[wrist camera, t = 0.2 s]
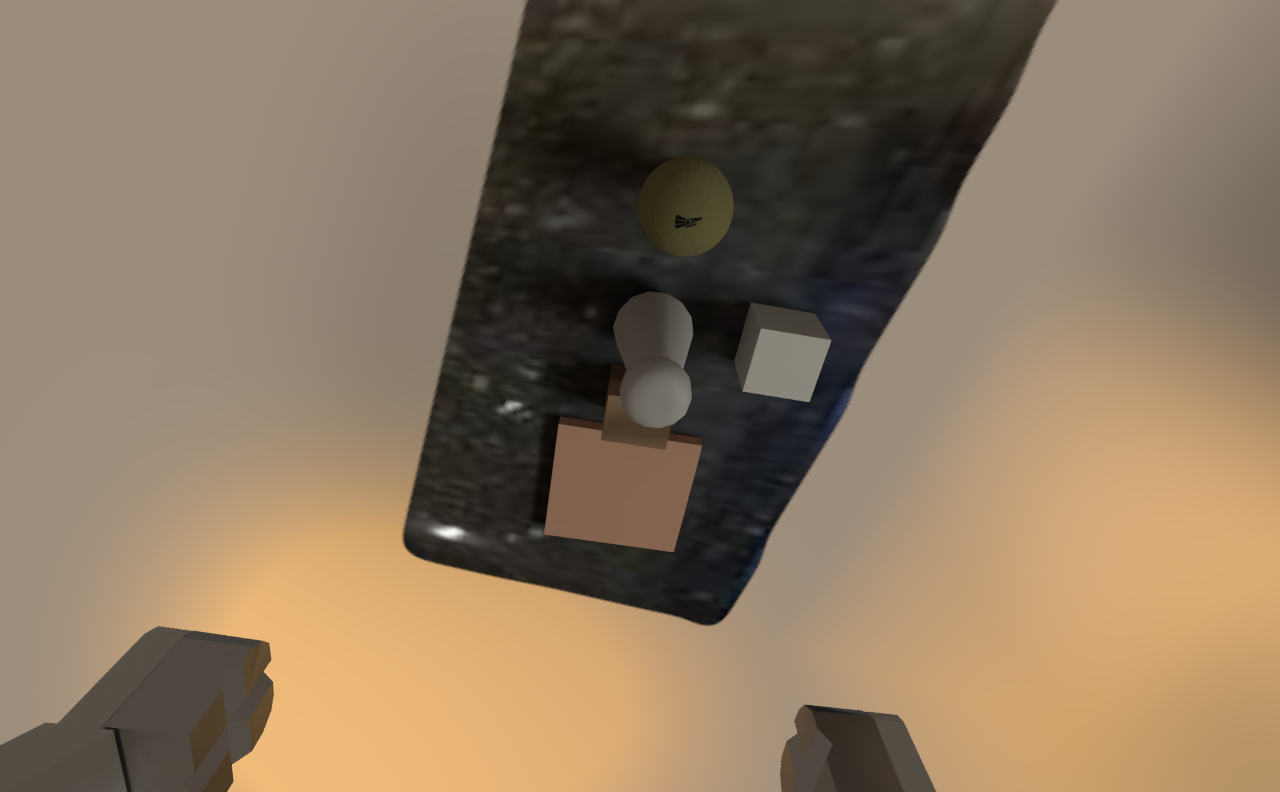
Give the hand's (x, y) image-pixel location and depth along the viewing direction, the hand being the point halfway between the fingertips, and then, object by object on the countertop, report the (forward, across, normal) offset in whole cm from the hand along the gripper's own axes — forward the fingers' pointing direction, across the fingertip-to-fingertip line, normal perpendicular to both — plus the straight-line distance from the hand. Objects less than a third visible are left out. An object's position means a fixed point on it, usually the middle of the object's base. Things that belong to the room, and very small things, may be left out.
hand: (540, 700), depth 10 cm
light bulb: (+38, -4, -5) cm, 39 cm away
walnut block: (+40, -4, +11) cm, 42 cm away
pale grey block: (+39, -13, +5) cm, 42 cm away
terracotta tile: (+41, -4, +21) cm, 46 cm away
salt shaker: (+39, -4, +5) cm, 40 cm away
